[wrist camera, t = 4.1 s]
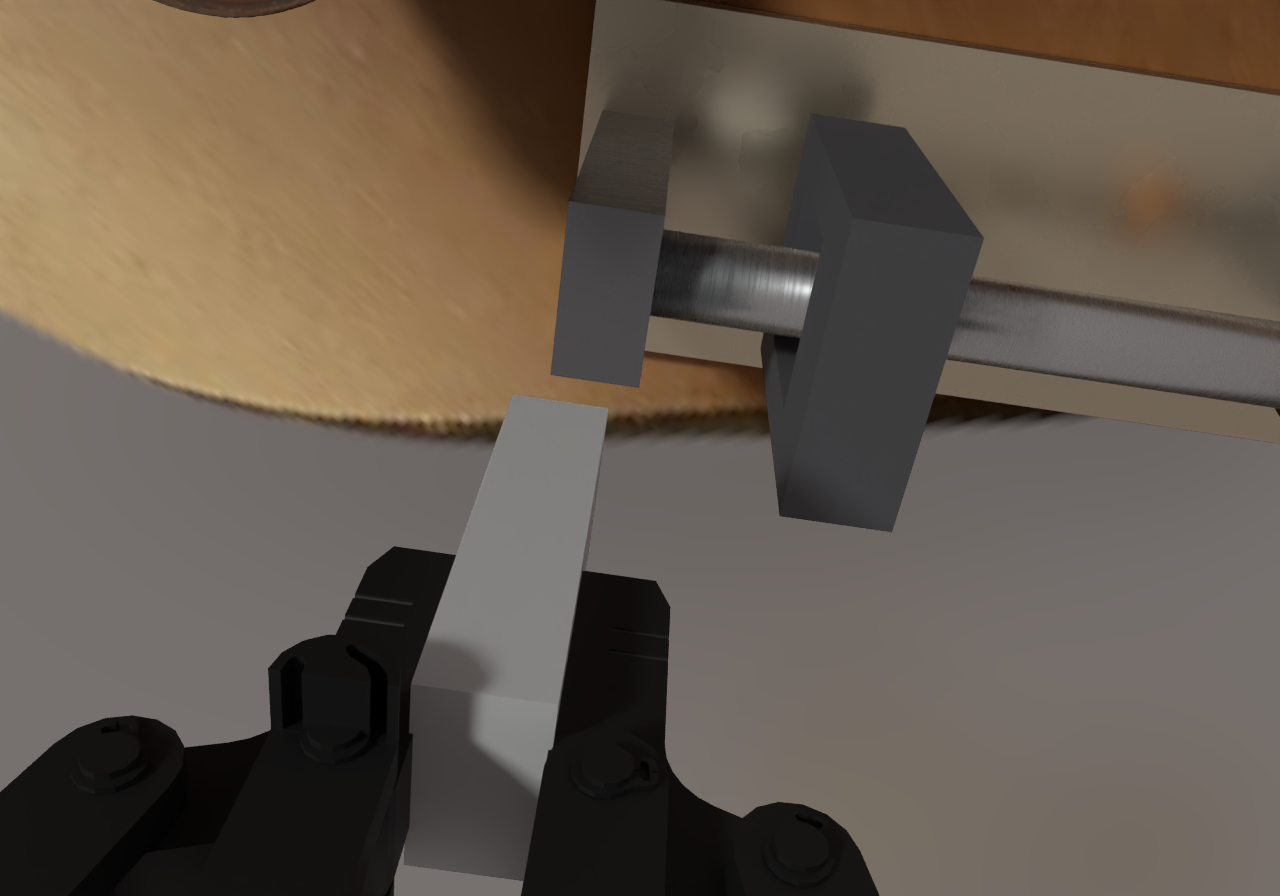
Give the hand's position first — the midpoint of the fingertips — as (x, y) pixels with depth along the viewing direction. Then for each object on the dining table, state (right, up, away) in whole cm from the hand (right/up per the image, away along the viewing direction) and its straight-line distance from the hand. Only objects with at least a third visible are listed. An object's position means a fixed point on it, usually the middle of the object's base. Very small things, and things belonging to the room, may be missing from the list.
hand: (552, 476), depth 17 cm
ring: (+6, +6, +11) cm, 14 cm away
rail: (+13, +7, +14) cm, 20 cm away
